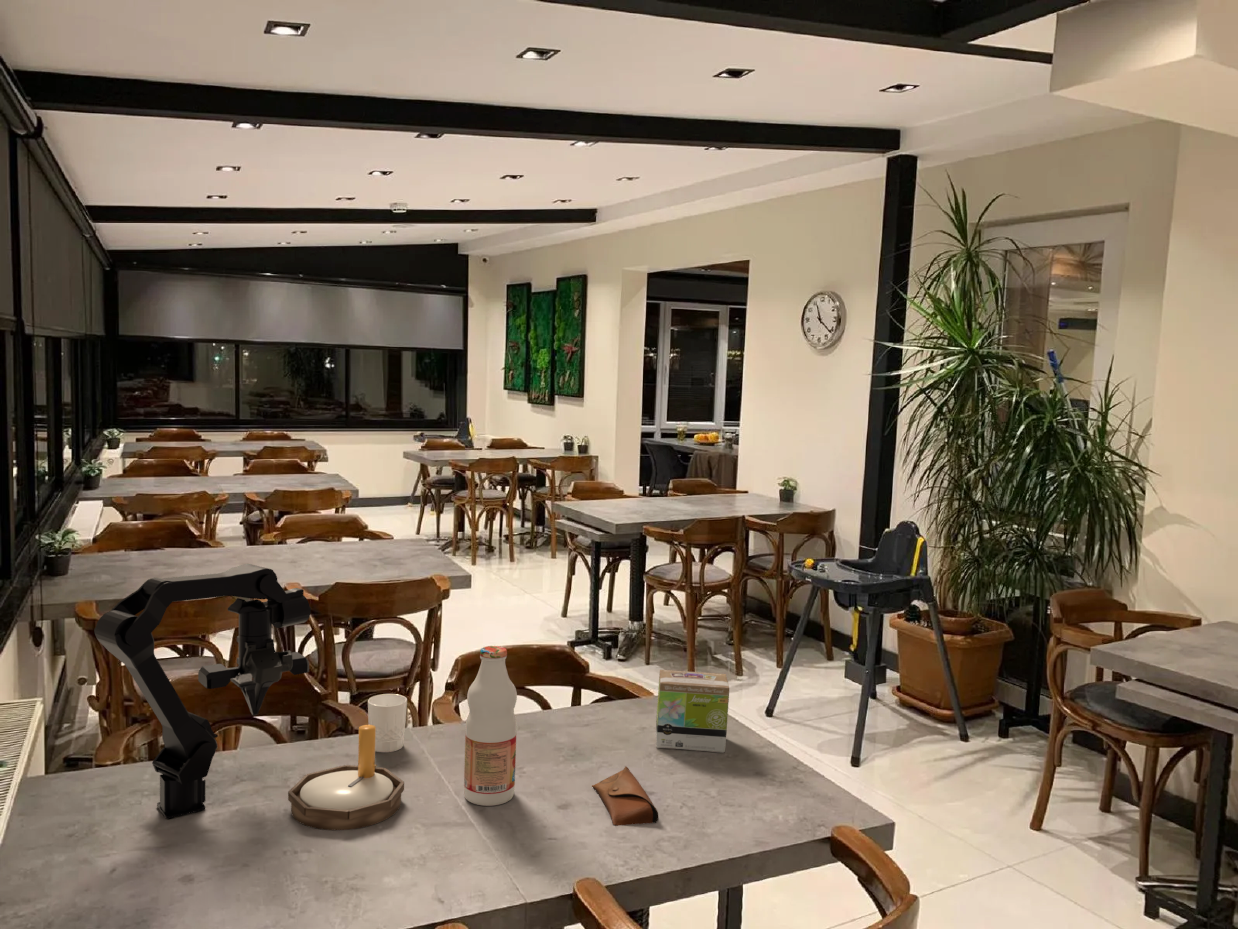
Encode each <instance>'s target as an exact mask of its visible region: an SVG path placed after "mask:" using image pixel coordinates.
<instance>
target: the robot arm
mask: <svg viewBox="0 0 1238 929" xmlns="http://www.w3.org/2000/svg"><path fill="white" fill-rule="evenodd" d="M220 597H222V598H223V597H237V598H236V599H235V601H234V602H233V603H231V604H230V605H229V606H228V607H227V611H228V612H231V613H234V614H238V636H236V642H237V643H238V657H236V664H237V665H238V666H234V667H228V668H227V667H226V666H225V665H224V664H222V663H215V664H209V665H203V666H201V667H200V668H199V670H198V672H197V673H198V674H197V678H198V680H197V681H198V682H199V683H200V684H201V685H202V686H203V687H204V688H206V690H207V689H208V690H213V689H220V688H224V687H227V686H228V684H230V683H231V682H232V683H233V684H234V685H235V686H237V687H238V688H239V689H240V690H241V692H242V693H243V696H244V699H245V701H246V703H247V706H248V709H249V712H250V713H251V715H252V716H257V715H259V711H260V709H261V707H262V705H263V702H264V699H265V696H266V695H267V692H268V690H269V689H270V687H271V686H272V685H273V684H275V683H277V682H279V681H280V680H281V679H282V674H283V673H286V672H290V673H291V674H292V675H294V676H296V675H301V674H306V673H309V672H310V661H309V659H308V658H307V657H306V656H304V655H302V654H301V653H300V652H298V651H293V652H292V651H291V650H282V651H276V649H275V642H274V641H275V640H274V639H273V637H272V631H273V629H272V626H273V627H275V628H277V629H280V628H286V627H289V626H294V625H298V624H299V625H300V624H304V623H306V622H307V621H308V620H309V619H310V616H311V613H312V612H311V611H312V610H311V609H312V608H311V606H310V602H309V601H308V598H307V597H306V596H305V594H304V589H303V588H298V587H295V588H290V589H288V590H284V588H283V587H282V586H281V584H280V583H279V581H278V576H277V574H276V572H275V571H274V570H273V569H271V568H268V567H265V566H260V565H255V564H251V563H245V564H242V565H237V566H235V567H231V568H229V569H228V570H225V571H223V572H219V573H210V574H208V573H207V574H197V575H185V576H176V577H175V576H172V577H163V578H161V577H152V578H149V579H147V580H146V581H144V583H143V584H142V585H141V586H140V587H139V588H138V589H136V590H135V591H134V592H132V593H131V594H129V595H127V596H125V597H124V598H123V599H121V600H120V601H119V602H117V603H116V604H115V606H113V607H112V609H111V610H110V611H107V612H106V613H104V614H103V615H102V616H100V618H99V619H98V620H97V622H96V625H95V628H94V630H93V631H94V635H95V637H96V639H97V641H98V642H99V643H100V644H101V645H102V646H103V647H104V648H105V649H106V650H107V651H108V652H109V653H110V654H111V655H113V656H114V657H115V658H116V659H118V660H119V661H120V662H121V663H122V664H124V666H125V667H126V669H127V670H128V672H129V673H130V676H132V679H133V680H134V681H135V684H136V686H138V689H139V690H140V692H141V693H142V695H143V697H144V698H145V700H146V702H147V703H148V705H149V707H150V708H151V710H152V711H153V713H154V715H155V716H156V718H157V719H158V722H159V723H160V724H161V726H162V734H161V735H162V737H161V738H162V741H163V745H164V746H163V748H161V750H160V751H159V752H158V754H157V756H155V758H154V759H153V760H152V762H151V763H152V766H153V769H154V771H155V772H156V773H158V774H159V773H160V775H159V802H157V803H156V807H157V808H158V809H159V811H160V813H161V814H162V815H163V816H164V818H165V819H172V818H177V817H181V816H184V815H188V814H192V813H193V814H194V813H196V812H201V811H204V810H206V805H205V803H206V780H205V778H206V777H207V776H208V774H209V772H210V768H211V765H212V761H213V758H214V756H215V754H216V751H217V750H218V742H217V740H216V738H218V737H219V736H218V735H217V733H215V732H214V731H213V729H212V727H211V724H210V722H209V720H208V719H207V718H205V717H202V716H200V715H198V714H194V713H193V712H189V711H188V710H187V707H186V706H185V705H184V703H183V701H182V700H181V697H180V696H179V694H178V692H177V691H176V690H175V687H174V686H173V684H172V682H171V681H170V679H169V676H168V675H167V674H166V672H165V671H164V668H163V667H162V666H161V663H160V662H159V660H158V659H157V656H156V655H155V639H154V636H153V632H154V631H155V629H157V627H158V626H159V625H160V624H161V622H162V619H163V617H164V615H165V613H166V611H167V609H168V607H169V606H170V605H171V604H172V603H175V602H177V603H178V602H184V601H191V600H192V601H194V600H204V599H213V598H220ZM243 598H245V599H243ZM246 599H249V600H246ZM261 600H265V601H261ZM139 613H140V614H139Z"/></svg>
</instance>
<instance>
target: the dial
mask: <svg viewBox="0 0 1238 929" xmlns="http://www.w3.org/2000/svg"><path fill="white" fill-rule="evenodd" d="M375 731H376V727H375V726H374V725H369V724H363V725H360V726H359V727H358V756H357V757H358V758H357V762H358V763H357V766H358V770H350V771H339V772H333V773H329V774H325V775H322V776H319V777H316V778H314V779H312V780H310V781H309V782H307V783H306V784H305V785H304V786H303V787H302V789H301V791H300V799H301V801H302V802H303V803H304V804H305V805H306V806H307V807H317V808H329V809H340V810H351V809H355V808H359V807H362V806H366V805H370V804H373V803H377V802H381V801H385V800H388V799H389V797H390V796H391V795H392V793H393V784H392V782H391V780H390V779H389V778H387V777H386V776H384V775H381V774H379V773H375V765H376V751H375Z"/></svg>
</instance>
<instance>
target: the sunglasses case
mask: <svg viewBox="0 0 1238 929" xmlns="http://www.w3.org/2000/svg"><path fill="white" fill-rule="evenodd" d="M592 787H593V788H592ZM591 788H592V789H593V790H594V791H595V790H596V791H595V792H596V793H597V795H598V794H599V795H598V796H599V798H600V799H601V801H602V803H603V805H604V807H605V809H606V810H607V812H608V815H609V817H610V819H611V823H612V826H615V827H618V826H628V825H642V824H643V823H645V824H653V823H652V822H655V823H654V824H656V823H657V822H658V821H659V811H658V809H657V808H656V807H655V805H654V803H653V802H652V800H651V797H649V795H648V794H647V792H646V790H645V789H644V788H643V786H642V785H641V783H640V782H639V780H638V779H637V777H636V776H635V775H634V774H633V773H632V771H631V770H630V768H629V767H627V766H624V767H623V769H622V770H620V771H618V772H617V773H614V774H612V775H610V776H608V777H606V778H604V779H603V780H600V781H599V782H597V783H595V784H592V785H591ZM643 825H644V824H643Z"/></svg>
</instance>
